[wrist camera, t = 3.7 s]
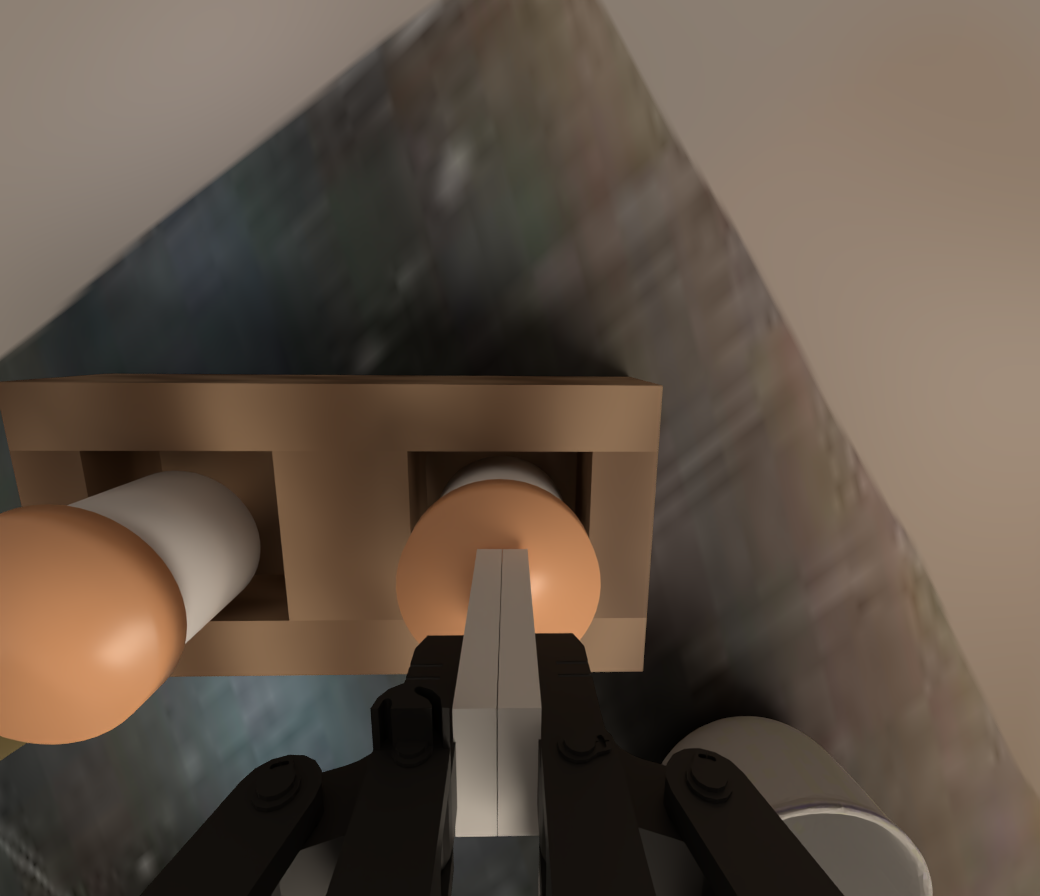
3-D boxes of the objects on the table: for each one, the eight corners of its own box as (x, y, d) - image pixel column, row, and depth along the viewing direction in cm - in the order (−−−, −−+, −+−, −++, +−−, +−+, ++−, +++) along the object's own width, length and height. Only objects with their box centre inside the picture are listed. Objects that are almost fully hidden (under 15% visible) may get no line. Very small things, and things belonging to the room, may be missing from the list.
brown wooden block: (148, 611, 25) (59, 677, 20) (107, 373, 22) (-6, 382, 17) (616, 608, 25) (642, 671, 20) (629, 376, 23) (662, 385, 18)
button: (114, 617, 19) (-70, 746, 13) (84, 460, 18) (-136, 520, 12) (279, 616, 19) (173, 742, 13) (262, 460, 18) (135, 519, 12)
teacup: (593, 772, 27) (627, 943, 20) (733, 645, 26) (831, 774, 18) (754, 897, 30) (842, 1094, 22) (892, 786, 28) (1039, 955, 20)
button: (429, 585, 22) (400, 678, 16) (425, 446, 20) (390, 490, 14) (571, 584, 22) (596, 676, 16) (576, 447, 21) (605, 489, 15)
